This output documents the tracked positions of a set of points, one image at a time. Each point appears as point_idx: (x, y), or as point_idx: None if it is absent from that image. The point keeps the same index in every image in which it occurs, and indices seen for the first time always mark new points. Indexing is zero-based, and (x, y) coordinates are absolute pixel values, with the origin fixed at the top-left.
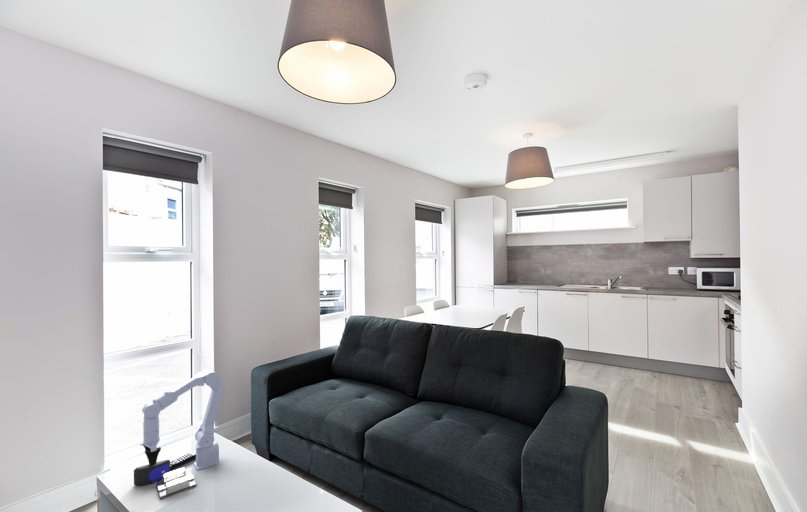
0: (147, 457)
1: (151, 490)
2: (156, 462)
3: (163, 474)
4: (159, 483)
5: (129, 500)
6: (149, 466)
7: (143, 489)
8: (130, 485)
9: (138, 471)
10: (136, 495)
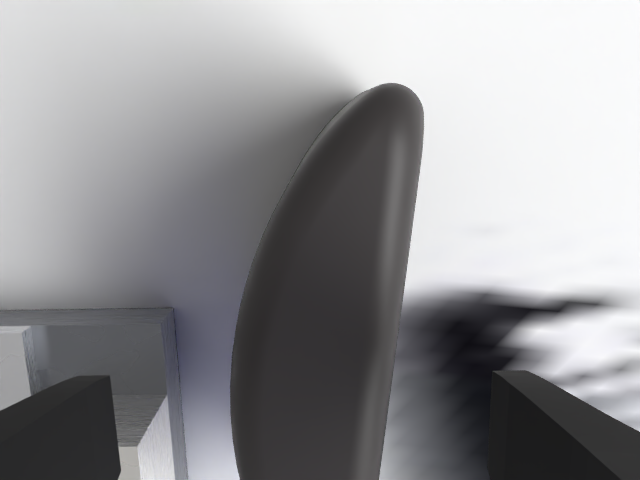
0: (505, 384)
1: (121, 257)
2: (356, 461)
3: (119, 451)
4: (128, 355)
5: (36, 23)
6: (267, 346)
7: (205, 183)
8: (424, 54)
9: (308, 157)
10: (109, 103)
